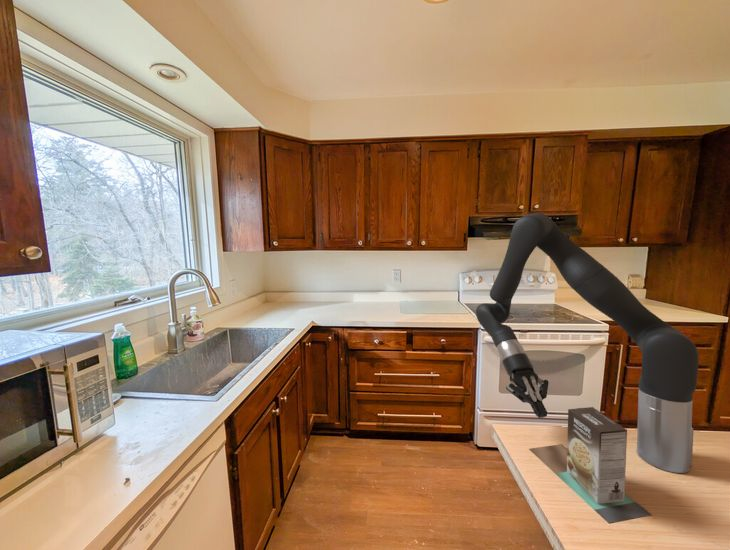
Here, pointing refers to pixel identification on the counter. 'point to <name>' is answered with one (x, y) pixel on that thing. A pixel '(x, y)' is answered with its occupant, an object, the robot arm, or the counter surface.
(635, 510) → the mat
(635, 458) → the counter surface
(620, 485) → the coffee box
